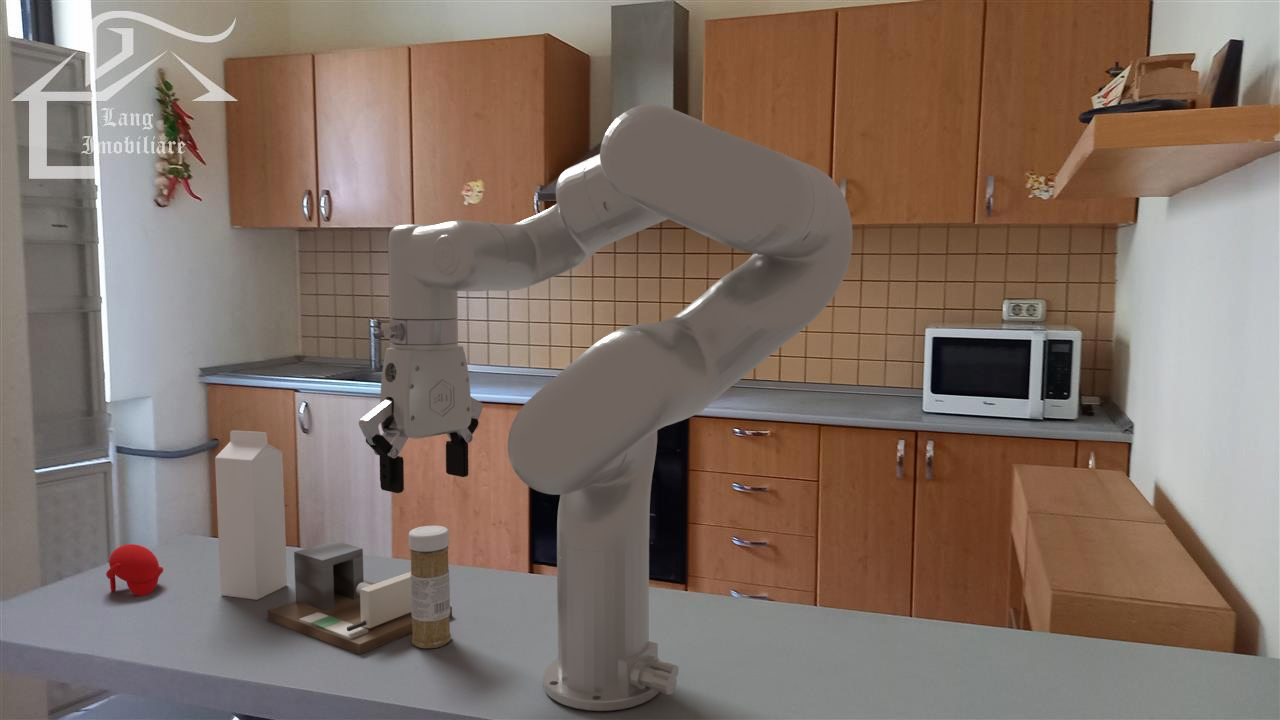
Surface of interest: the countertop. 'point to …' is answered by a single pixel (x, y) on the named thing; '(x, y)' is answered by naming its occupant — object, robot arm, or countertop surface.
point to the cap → (134, 569)
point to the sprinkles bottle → (430, 586)
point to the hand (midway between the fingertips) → (425, 482)
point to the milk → (250, 516)
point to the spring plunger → (383, 601)
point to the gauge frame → (334, 600)
